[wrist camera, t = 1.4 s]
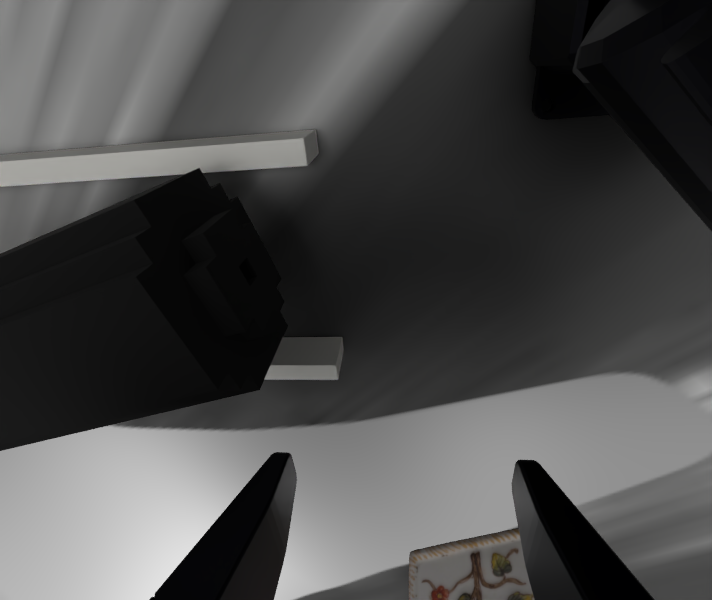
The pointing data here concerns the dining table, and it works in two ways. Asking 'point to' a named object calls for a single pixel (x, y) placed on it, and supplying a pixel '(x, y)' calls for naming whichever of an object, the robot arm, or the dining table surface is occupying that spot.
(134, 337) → the security camera
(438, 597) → the decorative jar
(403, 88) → the dining table surface
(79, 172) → the tester cradle
